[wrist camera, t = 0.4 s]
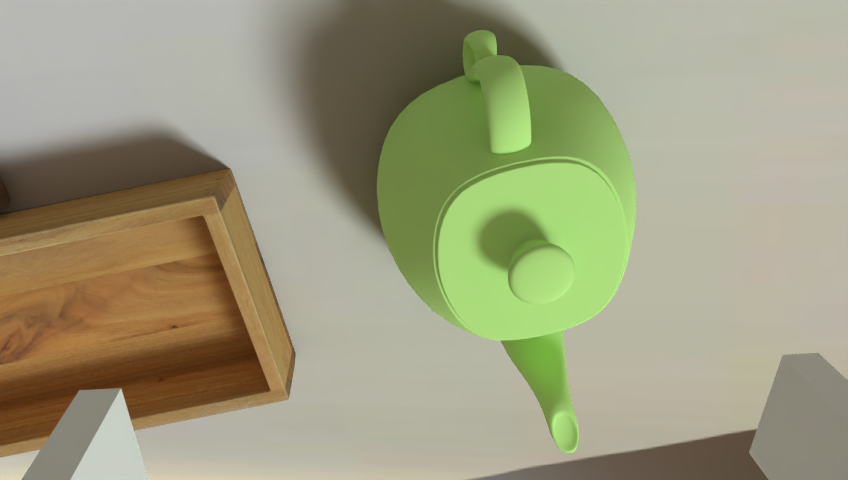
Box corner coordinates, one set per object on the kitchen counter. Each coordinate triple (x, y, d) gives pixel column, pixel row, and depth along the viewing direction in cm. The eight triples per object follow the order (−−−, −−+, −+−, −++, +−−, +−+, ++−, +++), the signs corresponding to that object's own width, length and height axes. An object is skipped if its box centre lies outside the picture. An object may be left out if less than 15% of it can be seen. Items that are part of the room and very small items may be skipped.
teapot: (615, 302, 44) (702, 432, 33) (420, 346, 45) (436, 490, 33) (592, -9, 34) (705, 18, 23) (339, 51, 35) (323, 108, 23)
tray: (233, 164, 38) (211, 199, 33) (298, 352, 45) (288, 404, 40) (-236, 256, 38) (-329, 305, 33) (-100, 428, 45) (-160, 490, 40)
